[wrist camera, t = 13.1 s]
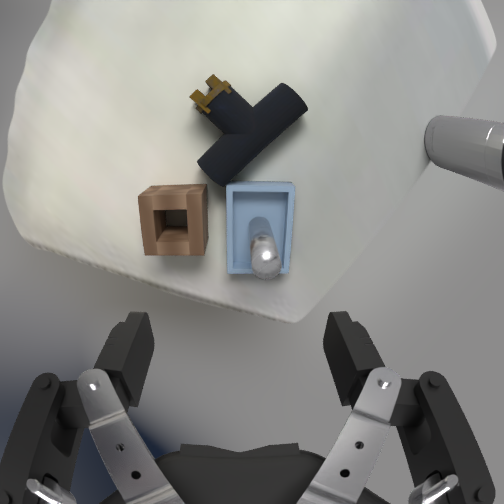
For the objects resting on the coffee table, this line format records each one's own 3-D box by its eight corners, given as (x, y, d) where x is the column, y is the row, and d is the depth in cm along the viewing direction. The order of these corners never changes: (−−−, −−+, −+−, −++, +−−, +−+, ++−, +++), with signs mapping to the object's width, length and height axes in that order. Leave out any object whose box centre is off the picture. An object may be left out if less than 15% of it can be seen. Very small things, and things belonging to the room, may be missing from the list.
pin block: (206, 184, 39) (201, 193, 34) (208, 237, 42) (204, 255, 37) (151, 186, 39) (137, 196, 33) (156, 238, 42) (144, 255, 37)
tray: (291, 182, 39) (295, 186, 37) (285, 263, 45) (288, 273, 42) (227, 181, 39) (226, 185, 36) (228, 264, 45) (227, 273, 42)
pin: (270, 216, 40) (282, 252, 30) (269, 237, 42) (280, 279, 31) (248, 216, 40) (252, 252, 29) (247, 237, 42) (251, 279, 31)
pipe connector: (157, 129, 31) (246, 44, 27) (167, 128, 36) (245, 54, 32) (223, 191, 35) (312, 109, 31) (225, 182, 40) (302, 111, 36)
